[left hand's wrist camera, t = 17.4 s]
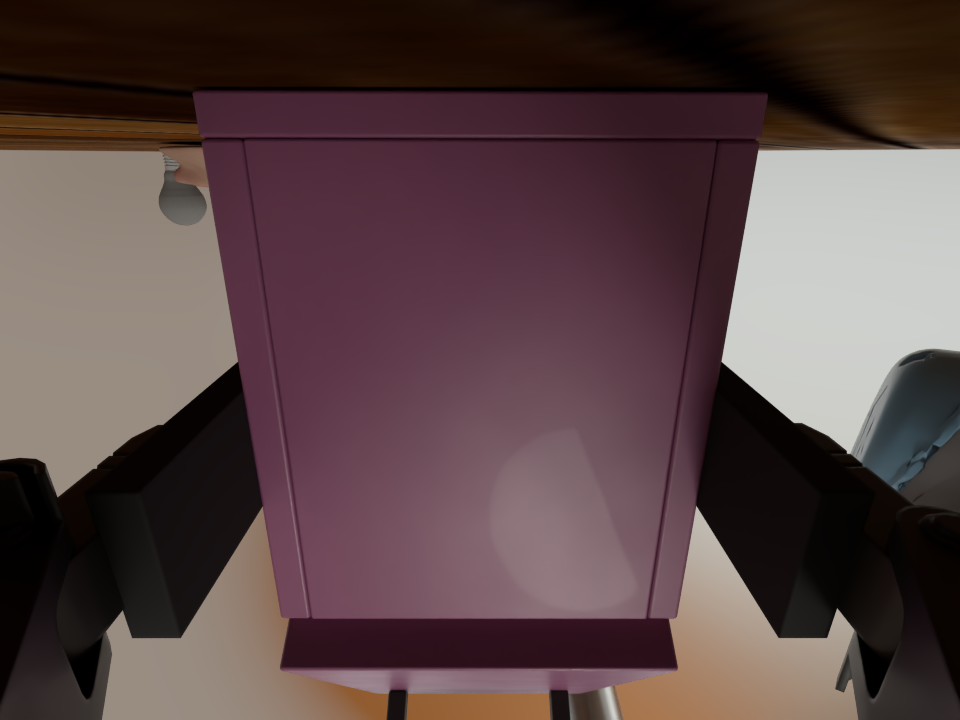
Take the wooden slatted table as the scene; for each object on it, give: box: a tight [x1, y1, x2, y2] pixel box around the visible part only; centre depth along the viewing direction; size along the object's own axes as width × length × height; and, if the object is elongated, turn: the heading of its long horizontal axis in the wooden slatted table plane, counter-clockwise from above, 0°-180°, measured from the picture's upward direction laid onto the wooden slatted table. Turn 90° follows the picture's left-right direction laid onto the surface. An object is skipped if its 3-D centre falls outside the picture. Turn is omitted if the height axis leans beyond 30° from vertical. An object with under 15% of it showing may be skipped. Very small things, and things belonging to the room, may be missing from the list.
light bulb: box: [159, 155, 207, 226], centre depth 74 cm, size 6×6×10 cm
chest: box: [193, 90, 768, 619], centre depth 16 cm, size 13×9×11 cm
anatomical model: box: [159, 146, 209, 187], centre depth 42 cm, size 13×4×12 cm
